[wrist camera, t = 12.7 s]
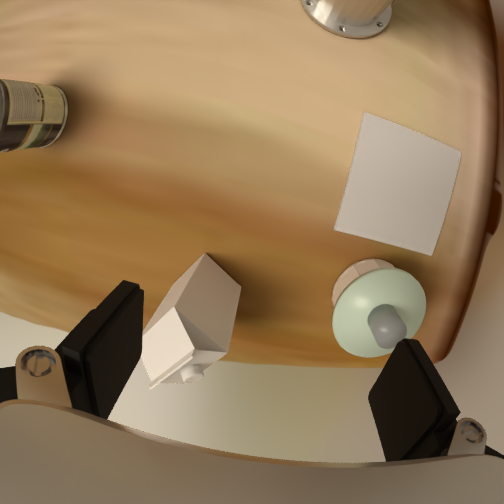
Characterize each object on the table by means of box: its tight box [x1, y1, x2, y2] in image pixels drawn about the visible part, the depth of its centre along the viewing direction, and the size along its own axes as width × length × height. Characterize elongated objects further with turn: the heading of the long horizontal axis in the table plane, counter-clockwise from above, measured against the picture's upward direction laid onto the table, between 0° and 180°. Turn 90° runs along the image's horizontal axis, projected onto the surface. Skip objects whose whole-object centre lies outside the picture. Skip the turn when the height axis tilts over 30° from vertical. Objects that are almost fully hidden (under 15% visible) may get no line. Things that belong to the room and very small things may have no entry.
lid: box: [332, 267, 426, 357], centre depth 34 cm, size 13×13×5 cm
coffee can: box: [0, 79, 68, 153], centre depth 29 cm, size 10×10×14 cm
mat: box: [334, 112, 462, 256], centre depth 37 cm, size 16×16×1 cm
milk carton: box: [141, 253, 241, 390], centre depth 34 cm, size 7×7×19 cm
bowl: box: [332, 258, 395, 308], centre depth 39 cm, size 11×11×6 cm
